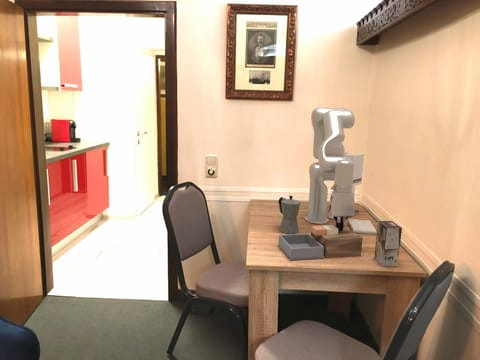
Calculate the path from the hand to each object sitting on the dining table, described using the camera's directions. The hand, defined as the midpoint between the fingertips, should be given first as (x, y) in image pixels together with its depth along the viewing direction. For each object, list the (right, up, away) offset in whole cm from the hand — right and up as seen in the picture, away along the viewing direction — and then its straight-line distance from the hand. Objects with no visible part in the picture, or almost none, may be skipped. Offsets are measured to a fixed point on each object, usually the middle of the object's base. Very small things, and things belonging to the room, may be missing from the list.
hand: (339, 230), depth 166 cm
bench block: (-2, -9, +2) cm, 9 cm away
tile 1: (-9, -1, -2) cm, 9 cm away
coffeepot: (-19, -3, +25) cm, 32 cm away
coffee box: (+16, -12, -9) cm, 22 cm away
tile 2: (-4, -1, -1) cm, 4 cm away
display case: (+18, +2, +56) cm, 59 cm away
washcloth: (+19, -4, +32) cm, 37 cm away
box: (-17, -9, -2) cm, 19 cm away
